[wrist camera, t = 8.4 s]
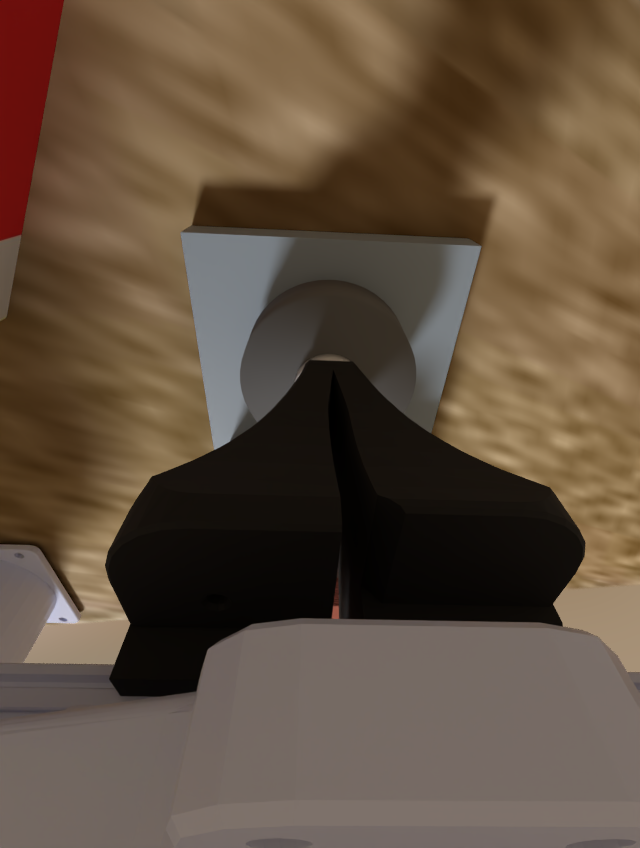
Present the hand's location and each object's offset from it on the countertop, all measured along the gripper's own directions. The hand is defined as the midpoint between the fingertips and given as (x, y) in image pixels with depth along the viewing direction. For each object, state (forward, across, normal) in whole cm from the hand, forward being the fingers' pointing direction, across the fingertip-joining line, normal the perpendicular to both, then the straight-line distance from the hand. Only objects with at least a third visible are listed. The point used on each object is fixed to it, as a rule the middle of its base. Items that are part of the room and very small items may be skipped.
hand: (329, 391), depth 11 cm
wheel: (+2, 0, 0) cm, 2 cm away
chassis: (+4, 0, +5) cm, 7 cm away
